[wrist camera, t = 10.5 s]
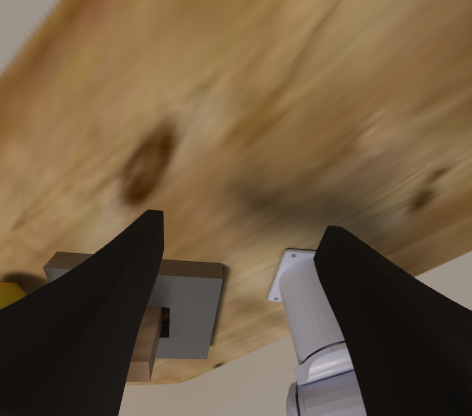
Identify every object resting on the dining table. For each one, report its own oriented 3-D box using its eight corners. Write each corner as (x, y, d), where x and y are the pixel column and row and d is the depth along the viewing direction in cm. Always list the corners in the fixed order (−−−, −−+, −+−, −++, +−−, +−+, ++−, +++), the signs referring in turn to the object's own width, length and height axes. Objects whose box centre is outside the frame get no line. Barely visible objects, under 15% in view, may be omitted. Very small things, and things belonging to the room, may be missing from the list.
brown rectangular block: (164, 295, 26) (148, 362, 21) (164, 315, 29) (150, 381, 23) (127, 293, 26) (101, 361, 20) (130, 314, 28) (106, 381, 22)
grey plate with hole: (222, 263, 24) (222, 279, 23) (207, 343, 33) (206, 358, 31) (56, 251, 22) (43, 267, 20) (86, 340, 30) (78, 357, 29)
